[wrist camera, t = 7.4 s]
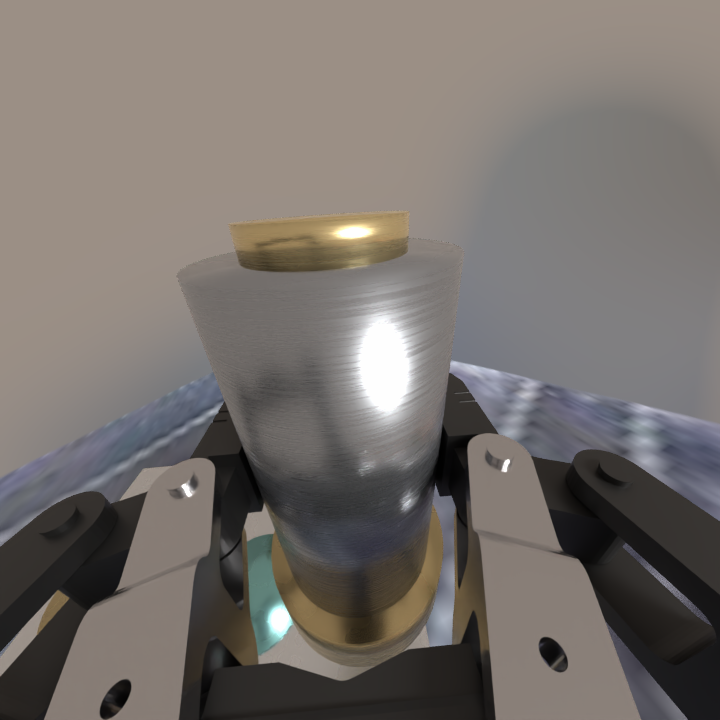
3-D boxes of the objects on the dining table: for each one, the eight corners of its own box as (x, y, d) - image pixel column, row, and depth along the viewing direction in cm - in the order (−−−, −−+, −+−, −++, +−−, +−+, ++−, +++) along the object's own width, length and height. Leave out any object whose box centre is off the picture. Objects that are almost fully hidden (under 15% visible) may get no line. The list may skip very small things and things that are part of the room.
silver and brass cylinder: (266, 677, 8) (-76, 256, 2) (296, 493, 13) (219, 220, 7) (463, 657, 8) (651, 205, 2) (416, 482, 13) (436, 206, 7)
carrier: (-132, 867, 11) (-261, 876, 9) (148, 476, 28) (127, 445, 26) (456, 801, 12) (470, 794, 10) (390, 453, 28) (389, 421, 26)
